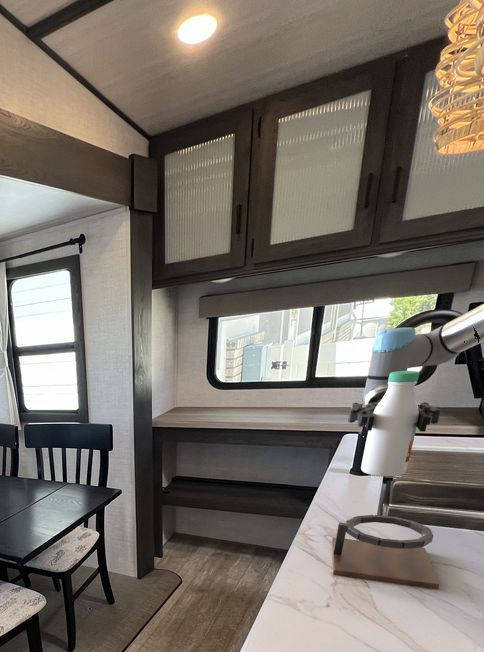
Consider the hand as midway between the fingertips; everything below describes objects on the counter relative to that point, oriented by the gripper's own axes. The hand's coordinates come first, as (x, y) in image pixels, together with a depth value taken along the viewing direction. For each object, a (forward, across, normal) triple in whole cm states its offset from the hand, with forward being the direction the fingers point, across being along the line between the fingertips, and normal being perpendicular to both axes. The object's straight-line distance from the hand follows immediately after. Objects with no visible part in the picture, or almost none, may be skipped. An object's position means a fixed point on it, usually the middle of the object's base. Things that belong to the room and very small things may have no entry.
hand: (396, 423), depth 90 cm
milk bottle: (-5, 0, -11) cm, 12 cm away
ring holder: (+8, -1, -26) cm, 27 cm away
